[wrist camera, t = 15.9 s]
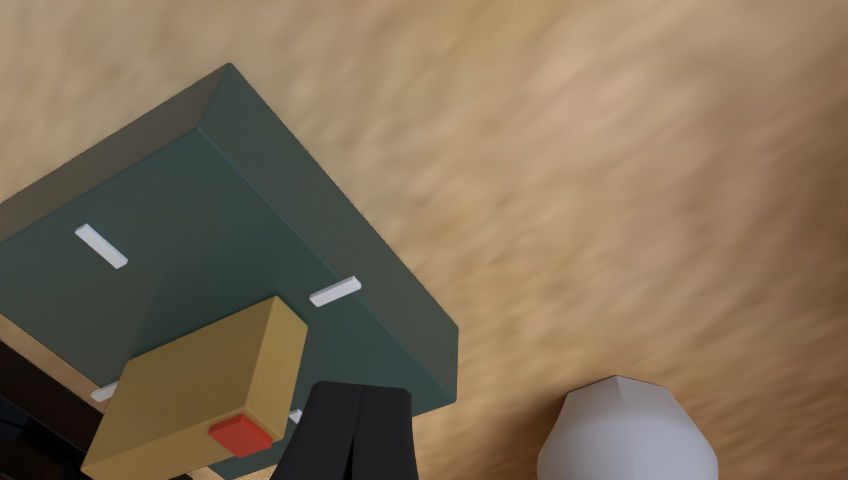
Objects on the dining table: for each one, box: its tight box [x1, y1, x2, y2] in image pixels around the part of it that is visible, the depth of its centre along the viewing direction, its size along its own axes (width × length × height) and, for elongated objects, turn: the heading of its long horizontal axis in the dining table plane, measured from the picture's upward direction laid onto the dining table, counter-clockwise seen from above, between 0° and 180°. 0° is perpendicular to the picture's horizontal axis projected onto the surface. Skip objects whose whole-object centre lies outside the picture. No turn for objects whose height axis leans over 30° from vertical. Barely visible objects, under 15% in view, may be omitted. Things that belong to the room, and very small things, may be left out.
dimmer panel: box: [0, 63, 459, 480], centre depth 23 cm, size 11×10×3 cm
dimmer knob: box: [81, 296, 308, 480], centre depth 20 cm, size 6×1×4 cm, turn 122°
